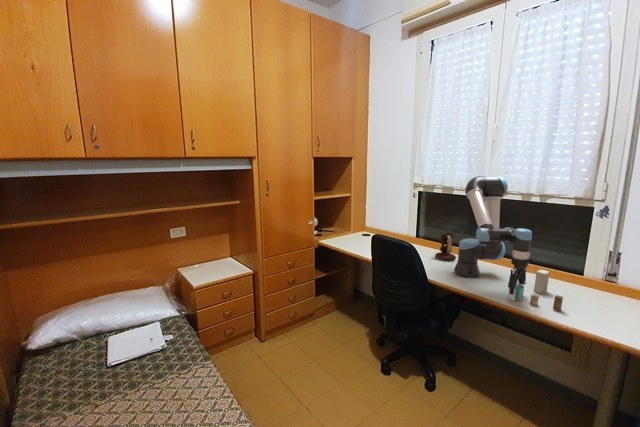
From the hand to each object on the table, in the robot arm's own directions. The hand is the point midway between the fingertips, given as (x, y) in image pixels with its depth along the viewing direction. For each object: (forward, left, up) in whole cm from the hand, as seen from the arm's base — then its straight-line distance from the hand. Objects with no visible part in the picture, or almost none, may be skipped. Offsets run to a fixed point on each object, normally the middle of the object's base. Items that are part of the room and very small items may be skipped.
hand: (515, 297), depth 160 cm
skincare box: (+5, +20, 0) cm, 21 cm away
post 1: (+9, -1, 0) cm, 9 cm away
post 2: (+18, +2, 0) cm, 18 cm away
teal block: (0, 0, 0) cm, 0 cm away
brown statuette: (-60, +29, 0) cm, 67 cm away
